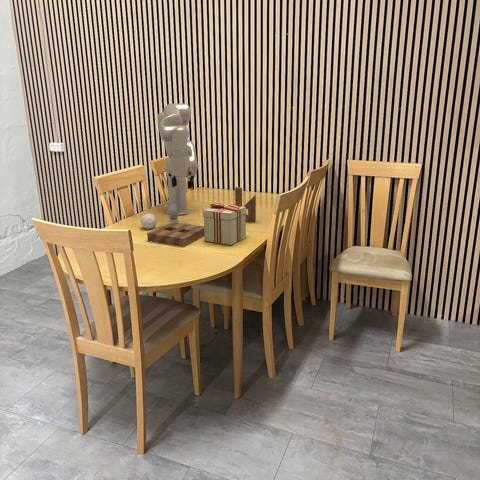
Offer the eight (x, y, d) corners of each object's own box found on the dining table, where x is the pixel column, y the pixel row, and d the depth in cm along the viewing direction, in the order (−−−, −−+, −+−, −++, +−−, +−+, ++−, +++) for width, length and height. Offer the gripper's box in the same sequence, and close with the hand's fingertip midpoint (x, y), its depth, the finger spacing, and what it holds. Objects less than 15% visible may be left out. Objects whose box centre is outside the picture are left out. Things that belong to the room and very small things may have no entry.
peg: (168, 226, 248) (167, 205, 245) (173, 224, 252) (171, 203, 248) (175, 227, 247) (173, 206, 243) (179, 225, 250) (178, 204, 246)
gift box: (249, 234, 233) (249, 199, 228) (233, 246, 217) (233, 209, 212) (218, 230, 240) (217, 196, 234) (200, 242, 224) (198, 205, 218)
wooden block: (254, 222, 252) (254, 189, 246) (234, 221, 254) (233, 188, 248) (256, 221, 255) (255, 187, 250) (236, 219, 258) (235, 186, 252)
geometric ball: (145, 233, 247) (138, 219, 248) (159, 226, 248) (152, 212, 249) (144, 230, 239) (137, 216, 240) (159, 222, 241) (151, 208, 242)
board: (147, 241, 226) (147, 233, 225) (172, 229, 243) (171, 221, 242) (183, 247, 217) (183, 238, 216) (206, 234, 234) (206, 226, 233)
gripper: (161, 153, 239) (163, 187, 244) (190, 155, 231) (191, 190, 236) (171, 151, 245) (173, 184, 251) (199, 153, 237) (200, 187, 242)
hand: (182, 187), depth 243 cm, fingers open, 9 cm apart
